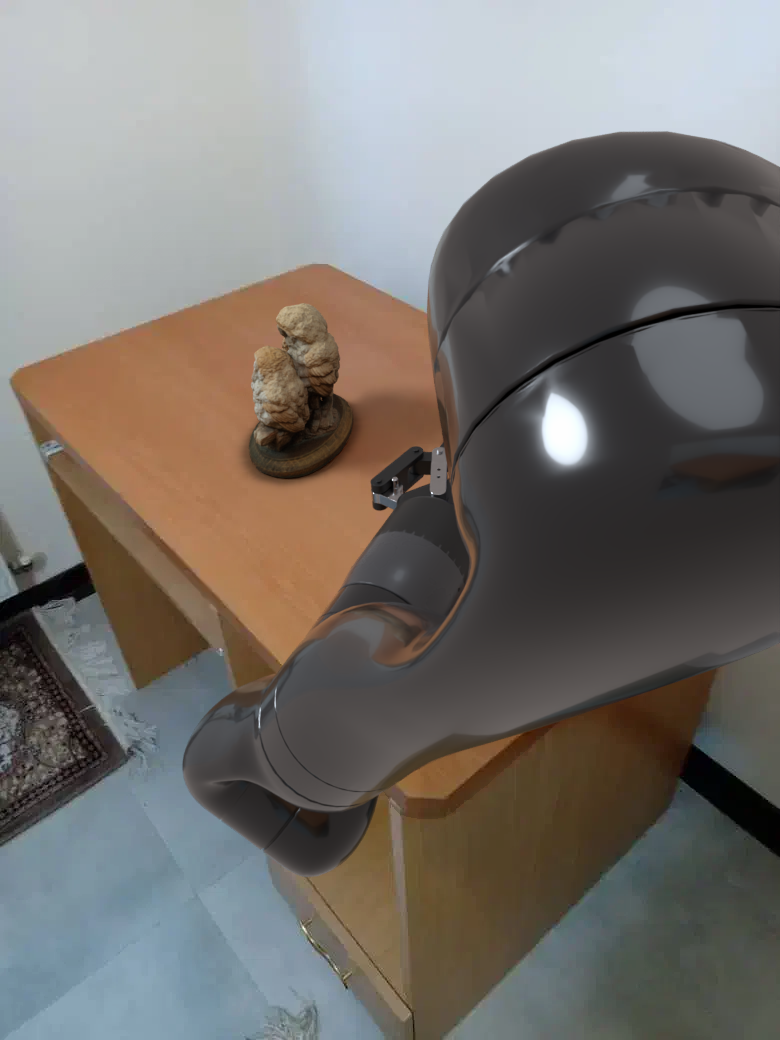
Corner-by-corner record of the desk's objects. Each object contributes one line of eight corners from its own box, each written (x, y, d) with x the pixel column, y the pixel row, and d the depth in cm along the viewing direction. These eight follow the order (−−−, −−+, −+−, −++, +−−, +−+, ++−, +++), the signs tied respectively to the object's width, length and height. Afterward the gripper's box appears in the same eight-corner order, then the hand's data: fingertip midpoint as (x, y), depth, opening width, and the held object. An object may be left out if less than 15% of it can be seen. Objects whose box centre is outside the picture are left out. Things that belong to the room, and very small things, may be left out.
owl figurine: (283, 391, 105) (264, 268, 94) (369, 400, 103) (360, 275, 91) (230, 473, 92) (201, 341, 81) (326, 485, 90) (309, 351, 78)
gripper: (517, 568, 48) (592, 424, 60) (314, 508, 53) (419, 386, 65) (510, 648, 53) (581, 501, 64) (325, 586, 58) (421, 460, 70)
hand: (499, 444), depth 65 cm, fingers closed on energy drink, 5 cm apart
